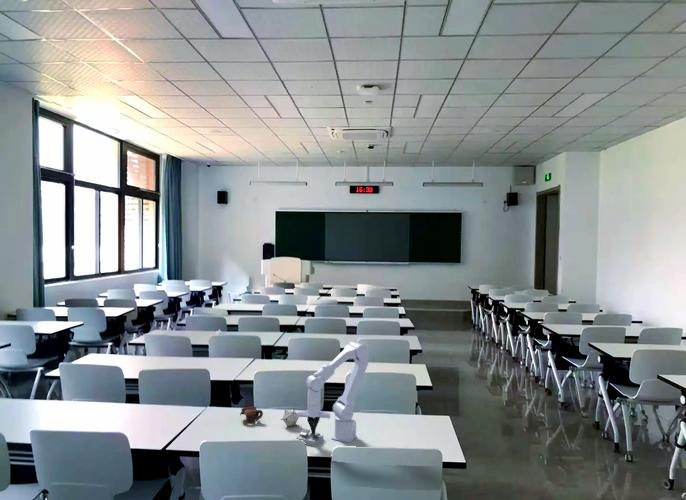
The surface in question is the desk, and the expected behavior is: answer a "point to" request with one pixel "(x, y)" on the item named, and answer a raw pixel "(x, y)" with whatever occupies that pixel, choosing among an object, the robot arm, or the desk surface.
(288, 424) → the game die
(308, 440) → the switch panel
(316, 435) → the rocker
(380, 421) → the desk surface
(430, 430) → the desk surface
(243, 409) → the pottery mug
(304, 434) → the rocker
